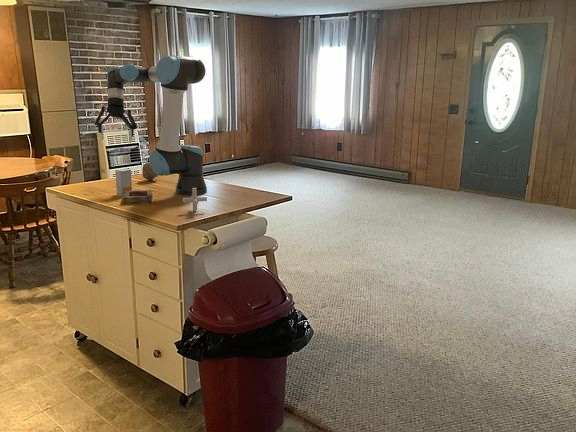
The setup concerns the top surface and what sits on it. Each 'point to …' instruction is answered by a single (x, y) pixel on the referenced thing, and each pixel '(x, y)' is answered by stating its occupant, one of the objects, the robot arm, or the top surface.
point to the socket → (137, 196)
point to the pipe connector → (194, 199)
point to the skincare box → (123, 181)
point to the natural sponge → (148, 172)
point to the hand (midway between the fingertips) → (116, 141)
